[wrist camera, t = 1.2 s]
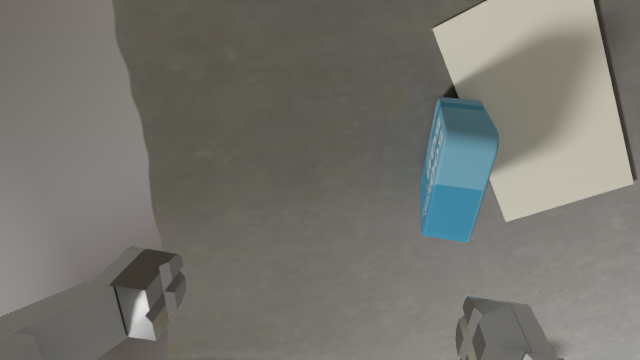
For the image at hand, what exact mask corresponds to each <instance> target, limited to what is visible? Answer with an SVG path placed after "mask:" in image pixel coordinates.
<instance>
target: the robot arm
mask: <svg viewBox="0 0 640 360" xmlns="http://www.w3.org/2000/svg"><path fill="white" fill-rule="evenodd" d="M183 266H184V265H183V260H182V256H180V255H179V254H174V253H169V252H163V251H157V250H151V249H143V248H138V247H130V248H127V249H126V250H124V251H123V253H121V254H120V255H119V256H118V257H117V258H116V259H115V260H114V261H113V262H112V263H111V264H110V265H109V266H107V267H106V268H105V269H104V270H103V271H102V272H101V273H100V274H99V275H98V276H97V277H96V278H95V279H94V280H93V281H92V282H84V283H81V284H79V285H77V286H74V287H72V288H69V289H67V290H64V291H62V292H60V293H57V294H55V295H52V296H50V297H47V298H45V299H43V300H40V301H38V302H35V303H33V304H30V305H28V306H26V307H23V308H21V309H18V310H16V311H14V312H11V313H9V314H6V315H4V316H1V317H0V360H95V359H97V358H98V357H99V356H101V355H102V354H104V353H105V352H107V351H108V350H110V349H111V348H113V347H114V346H116V345H117V344H119V343H120V342H122V341H123V340H124V339H126V338H127V337H126V336H128V337H135V338H142V339H149V340H156V339H157V338H158V336H159V335H160V334H161V332H162V331H163V329H164V328H165V326H166V325H167V323H168V322H169V319H168V314H170V313H171V312H173V311H175V310H177V309H178V307H179V305H180V304H181V302H182V300H183V297H184V294H185V291H186V279H185V276H184V275H183V274H182V273H181V272H180V270H181V268H182V267H183ZM463 311H464V314H465V316H463V317H462V318H460V319H459V321H458V324H457V328H456V348H457V353H458V356H459V357H460V358H461V359H462V360H564V359H563V358H557V357H556V356H555V354H554V352H553V350H552V348H551V346H550V344H549V342H548V340H547V338H546V336H545V334H544V332H543V330H542V328H541V326H540V325H539V323H538V321H537V319H536V317H535V315H534V313H533V311H532V309H531V307H530V306H529V305H527V304H522V303H514V302H504V301H496V300H489V299H482V298H475V297H467V298H466V299H465V302H464V305H463Z"/></svg>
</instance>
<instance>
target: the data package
mask: <svg viewBox="0 0 640 360" xmlns="http://www.w3.org/2000/svg"><path fill="white" fill-rule="evenodd" d="M498 146H499V133H498V131H497V129H496V127H495V125H494V124H493V122H492V120H491V118H490V116H489V115H488V113H487V111H486V109H485V107H484V106H483V104H482V102H481V101H477V100H467V99H457V98H446V97H440V98H438V100H437V104H436V108H435V113H434V118H433V123H432V128H431V133H430V138H429V143H428V148H427V152H426V157H425V162H424V167H423V172H422V178H421V185H420V197H421V232H422V235H424V236H429V237H435V238H441V239H447V240H453V241H459V242H468V241H469V240H470V238H471V236H472V232H473V229H474V226H475V223H476V220H477V216H478V213H479V210H480V207H481V203H482V200H483V197H484V194H485V191H486V187H487V184H488V181H489V178H490V174H491V171H492V168H493V165H494V161H495V158H496V155H497V151H498Z"/></svg>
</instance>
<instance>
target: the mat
mask: <svg viewBox="0 0 640 360" xmlns="http://www.w3.org/2000/svg"><path fill="white" fill-rule="evenodd" d="M432 29H433V32H434V35H435V37H436V40H437V42H438V45H439V48H440V50H441V53H442V55H443V58H444V61H445V63H446V66H447V69H448V71H449V74H450V76H451V79H452V82H453V84H454V87H455V90H456V92H457V95H458V97H459V99H467V100H477V101H481V102H482V104H483V106H484V107H485V109H486V111H487V113H488V115H489V116H490V118H491V120H492V122H493V124H494V125H495V127H496V129H497V131H498V133H499V146H498V151H497V155H496V158H495V161H494V165H493V168H492V171H491V174H490V178H489V179H490V181H491V184H492V187H493V189H494V192H495V195H496V197H497V200H498V202H499V205H500V208H501V210H502V213H503V216H504V218H505V221H506V222H507V221H511V220H514V219H517V218H521V217H524V216H527V215H531V214H534V213H538V212H541V211H544V210H548V209H551V208H554V207H558V206H561V205H564V204H568V203H571V202H574V201H578V200H581V199H584V198H588V197H591V196H594V195H598V194H601V193H605V192H608V191H611V190H615V189H618V188H621V187H625V186H628V185H631V184H634V183H633V178H632V174H631V169H630V165H629V160H628V156H627V151H626V147H625V142H624V137H623V133H622V128H621V124H620V119H619V115H618V110H617V106H616V101H615V97H614V92H613V87H612V83H611V78H610V74H609V69H608V65H607V60H606V56H605V51H604V47H603V42H602V37H601V33H600V28H599V24H598V19H597V15H596V10H595V6H594V1H593V0H486V1H484V2H482V3H480V4H478V5H476V6H474V7H473V8H471V9H469V10H467V11H465V12H463V13H461V14H459V15H457V16H455V17H453V18H451V19H449V20H447V21H445V22H443V23H442V24H440V25H438V26H436V27H434V28H432Z"/></svg>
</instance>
